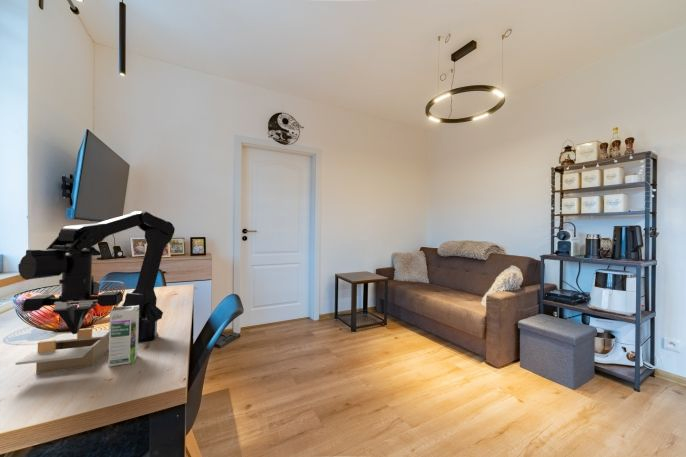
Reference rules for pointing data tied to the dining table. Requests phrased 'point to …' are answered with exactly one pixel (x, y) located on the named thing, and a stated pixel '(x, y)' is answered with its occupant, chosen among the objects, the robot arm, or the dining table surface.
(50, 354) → the left cover
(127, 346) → the syrup box
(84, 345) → the carton
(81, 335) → the right cover
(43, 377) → the dining table surface
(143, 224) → the robot arm
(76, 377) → the dining table surface
